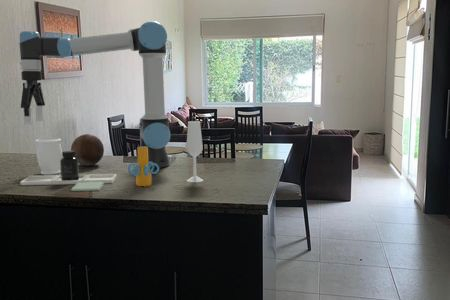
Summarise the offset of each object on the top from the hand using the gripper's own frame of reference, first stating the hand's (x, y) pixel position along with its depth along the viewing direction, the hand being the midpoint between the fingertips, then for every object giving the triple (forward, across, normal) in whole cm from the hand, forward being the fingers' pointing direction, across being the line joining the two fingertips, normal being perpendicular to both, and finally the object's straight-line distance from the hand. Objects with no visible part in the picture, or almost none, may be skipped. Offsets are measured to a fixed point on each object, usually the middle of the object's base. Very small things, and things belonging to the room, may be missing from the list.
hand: (34, 122), depth 191 cm
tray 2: (+23, +7, +28) cm, 37 cm away
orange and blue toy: (+23, +17, +47) cm, 55 cm away
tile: (+23, +19, +26) cm, 40 cm away
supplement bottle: (+23, +8, +16) cm, 29 cm away
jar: (+23, -9, +3) cm, 25 cm away
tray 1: (+23, +8, +4) cm, 25 cm away
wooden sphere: (+23, -25, +15) cm, 37 cm away
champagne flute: (+23, +10, +66) cm, 71 cm away
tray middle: (+23, +8, +16) cm, 29 cm away
